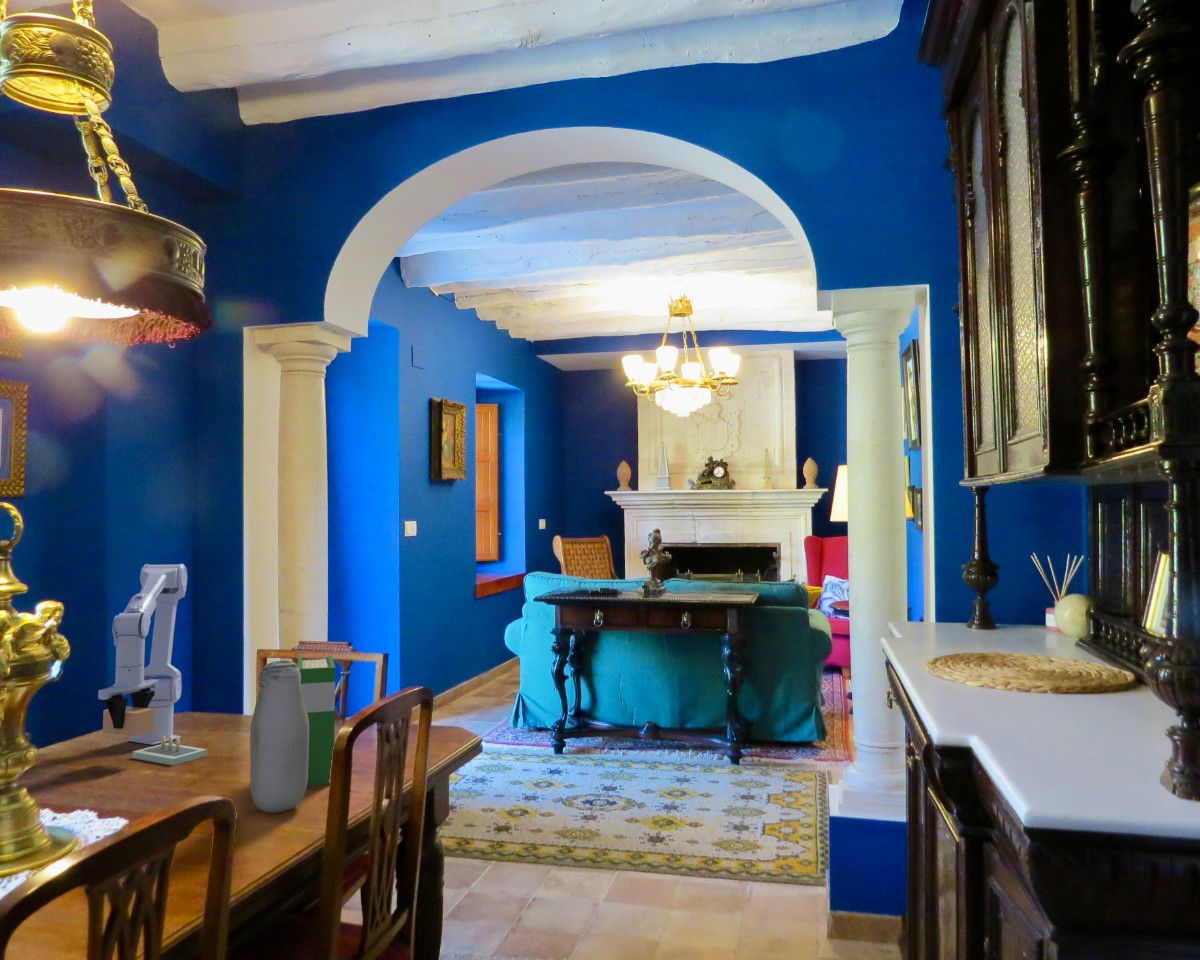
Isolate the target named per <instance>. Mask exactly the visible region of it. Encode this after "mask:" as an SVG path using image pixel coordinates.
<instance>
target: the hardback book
mask: <svg viewBox="0 0 1200 960" xmlns="http://www.w3.org/2000/svg"><path fill="white" fill-rule="evenodd" d="M297 666H298V668H299V670H300V673H301V689H302V695H303V700H304V704H305V707H306V710H307V714H308V720H309V756H308V782H307V787H310V786H311V787H312V786H321V785H329V779H330V769H331V760H332V751H333V747H334V748H335V727H336V726H335V720H336V719H335V718H336V715H335V714H336V713H335V711H336V710H335V709H336V665H335V661H334V658H333V655H327V658H322V659H321V658H320V659H304V660H303V656H298V657H297Z"/></svg>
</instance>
